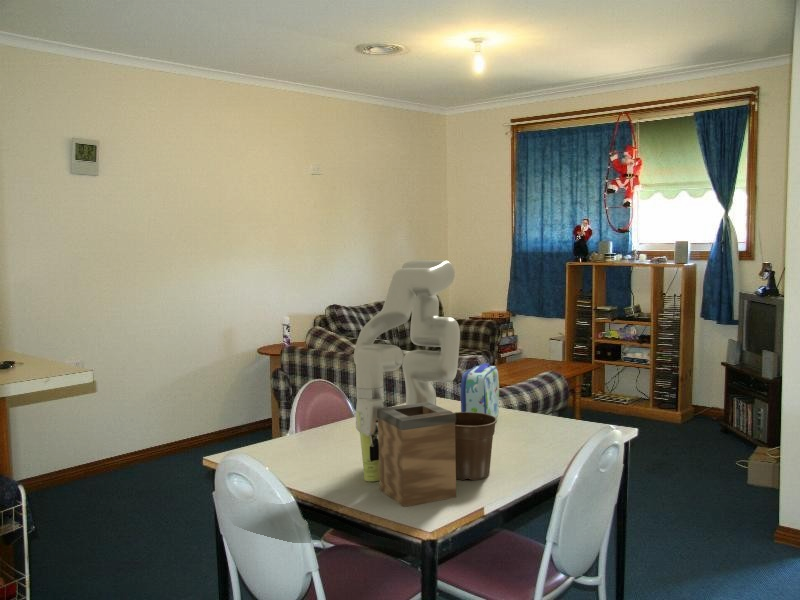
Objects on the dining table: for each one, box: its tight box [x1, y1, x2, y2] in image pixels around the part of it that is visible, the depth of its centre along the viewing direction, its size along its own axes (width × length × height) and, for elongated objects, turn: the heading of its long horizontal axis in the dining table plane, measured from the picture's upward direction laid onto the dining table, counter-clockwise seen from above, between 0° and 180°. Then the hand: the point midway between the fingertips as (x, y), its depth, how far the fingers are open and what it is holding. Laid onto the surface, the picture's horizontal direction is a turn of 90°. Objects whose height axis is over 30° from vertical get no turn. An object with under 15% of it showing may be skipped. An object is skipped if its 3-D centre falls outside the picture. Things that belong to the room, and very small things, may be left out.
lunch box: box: [459, 363, 500, 419], centre depth 265 cm, size 26×11×21 cm, turn 162°
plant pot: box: [454, 411, 498, 481], centre depth 209 cm, size 16×16×16 cm
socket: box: [377, 402, 457, 508], centre depth 194 cm, size 15×15×22 cm
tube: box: [357, 411, 379, 483], centre depth 206 cm, size 6×5×20 cm
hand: (371, 456), depth 206 cm, fingers closed on tube, 4 cm apart
